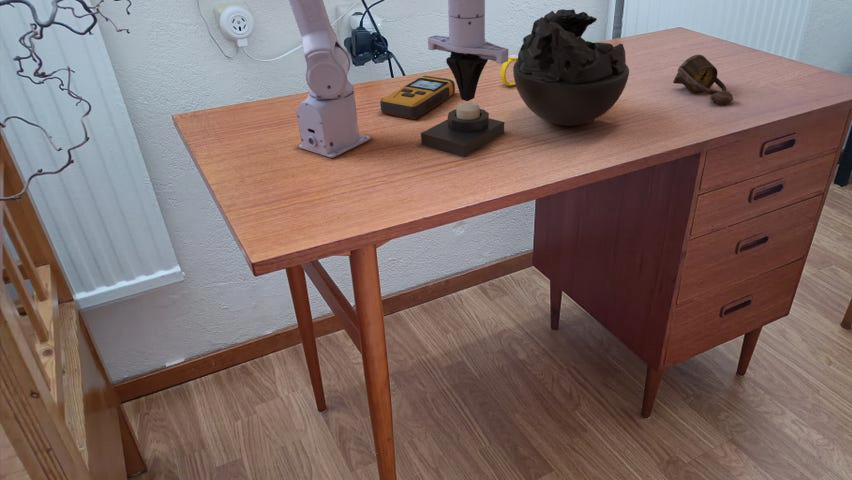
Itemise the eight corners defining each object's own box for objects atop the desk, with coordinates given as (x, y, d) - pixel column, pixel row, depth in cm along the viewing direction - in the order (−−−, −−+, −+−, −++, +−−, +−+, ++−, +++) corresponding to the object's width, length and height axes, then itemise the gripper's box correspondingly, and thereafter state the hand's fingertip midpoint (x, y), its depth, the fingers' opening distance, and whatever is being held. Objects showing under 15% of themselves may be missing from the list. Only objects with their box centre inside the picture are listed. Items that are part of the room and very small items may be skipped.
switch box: (464, 157, 107) (464, 134, 105) (421, 145, 111) (420, 122, 109) (504, 133, 115) (504, 111, 113) (462, 123, 119) (462, 101, 117)
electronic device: (378, 115, 123) (376, 98, 121) (420, 89, 135) (419, 73, 133) (416, 122, 120) (415, 104, 118) (457, 95, 132) (456, 78, 130)
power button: (471, 122, 110) (471, 112, 109) (451, 117, 112) (451, 108, 111) (484, 115, 113) (484, 105, 112) (465, 110, 115) (465, 101, 114)
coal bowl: (578, 96, 131) (586, -4, 120) (646, 129, 116) (661, 18, 106) (491, 114, 123) (492, 9, 112) (552, 152, 108) (559, 35, 98)
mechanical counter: (723, 58, 134) (677, 48, 133) (749, 71, 123) (699, 60, 121) (710, 93, 137) (665, 83, 136) (734, 109, 126) (685, 98, 125)
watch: (506, 89, 134) (506, 60, 131) (497, 86, 136) (498, 57, 133) (528, 83, 137) (529, 55, 134) (519, 80, 139) (520, 52, 136)
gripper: (519, 15, 102) (517, 100, 110) (444, 3, 109) (447, 84, 117) (494, 24, 97) (493, 112, 105) (418, 12, 104) (422, 95, 112)
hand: (467, 98), depth 110 cm, fingers closed
